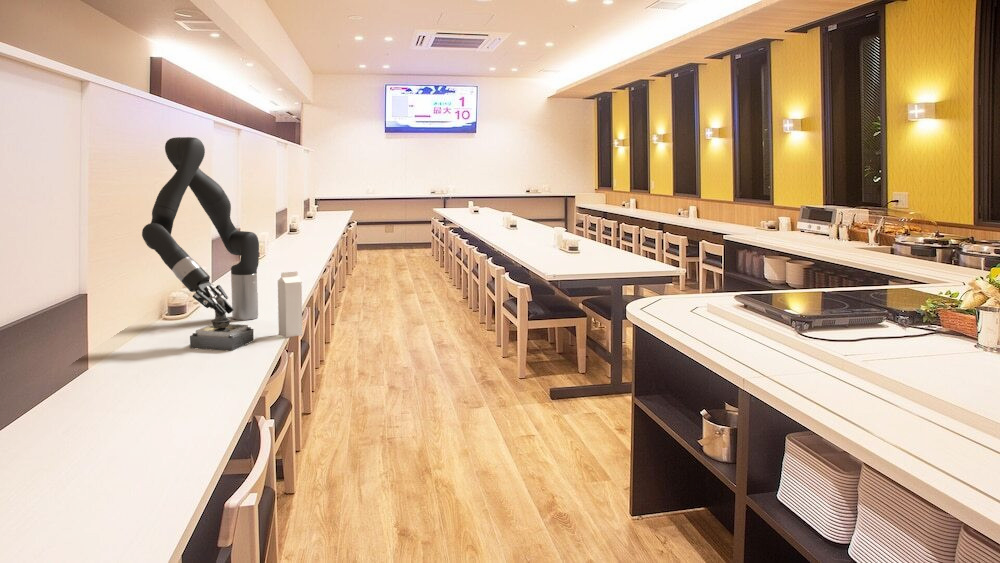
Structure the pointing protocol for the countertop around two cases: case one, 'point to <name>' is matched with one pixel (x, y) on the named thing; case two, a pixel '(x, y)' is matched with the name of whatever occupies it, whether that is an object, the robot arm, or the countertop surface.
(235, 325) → the grey square box
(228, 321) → the grey stone figure
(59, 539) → the countertop surface
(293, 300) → the milk
